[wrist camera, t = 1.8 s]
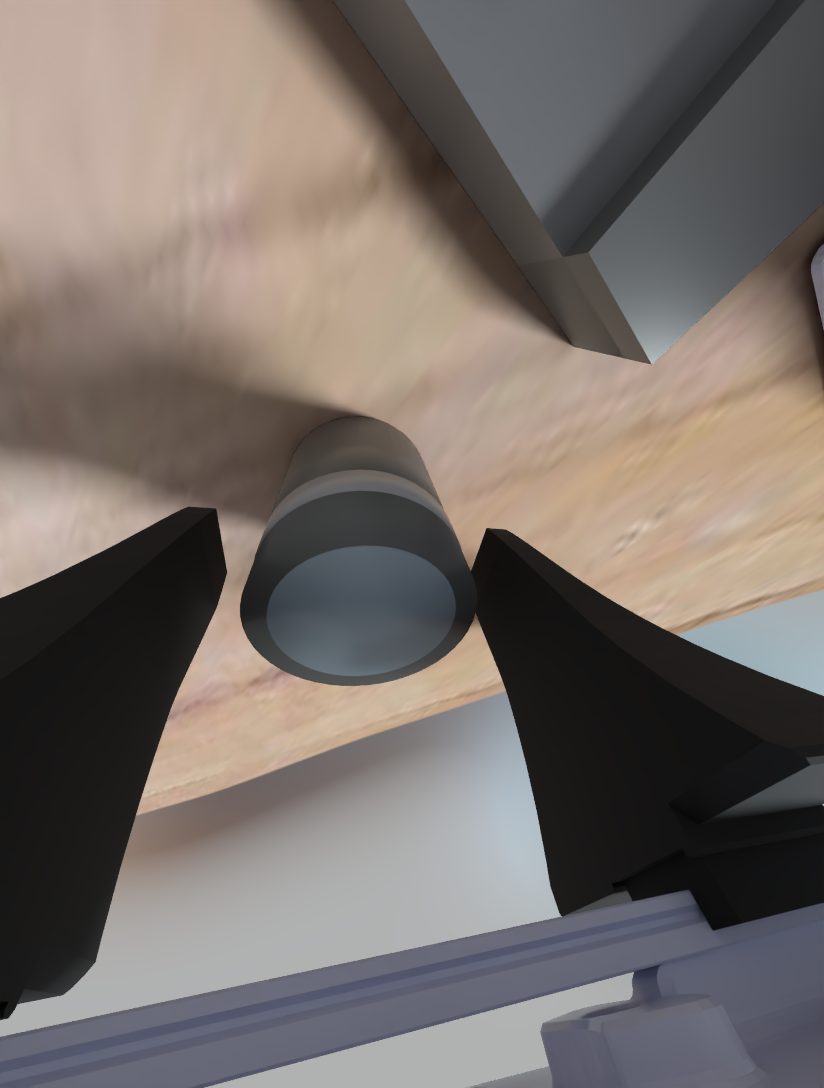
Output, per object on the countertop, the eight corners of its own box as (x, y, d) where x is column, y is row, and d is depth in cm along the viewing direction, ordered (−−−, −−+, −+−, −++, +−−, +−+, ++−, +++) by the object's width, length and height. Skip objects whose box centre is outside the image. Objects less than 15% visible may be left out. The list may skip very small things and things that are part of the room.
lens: (453, 474, 13) (523, 596, 8) (372, 559, 15) (384, 705, 9) (341, 381, 10) (330, 467, 5) (261, 498, 12) (194, 648, 7)
